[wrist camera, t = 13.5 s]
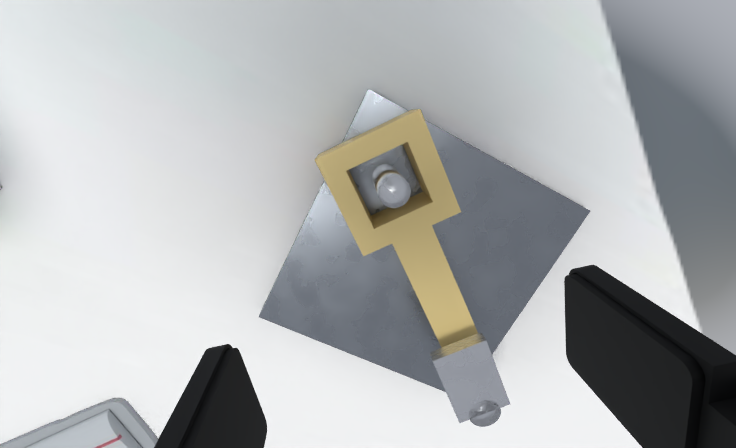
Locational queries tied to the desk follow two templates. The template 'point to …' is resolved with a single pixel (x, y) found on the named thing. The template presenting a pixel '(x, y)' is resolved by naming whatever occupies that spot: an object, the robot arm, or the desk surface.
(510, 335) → the desk surface
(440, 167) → the link
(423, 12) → the desk surface
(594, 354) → the robot arm
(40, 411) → the desk surface
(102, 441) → the office telephone
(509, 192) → the pintle plate
